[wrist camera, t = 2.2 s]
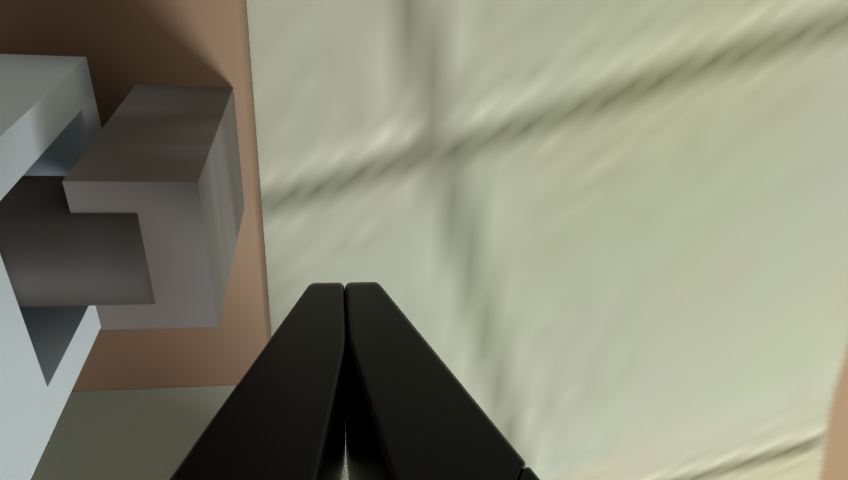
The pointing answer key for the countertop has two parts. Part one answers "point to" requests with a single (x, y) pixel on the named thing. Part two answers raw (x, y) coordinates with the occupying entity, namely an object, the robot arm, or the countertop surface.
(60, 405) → the white sleeve
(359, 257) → the countertop surface
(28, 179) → the dumbbell on board
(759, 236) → the countertop surface
